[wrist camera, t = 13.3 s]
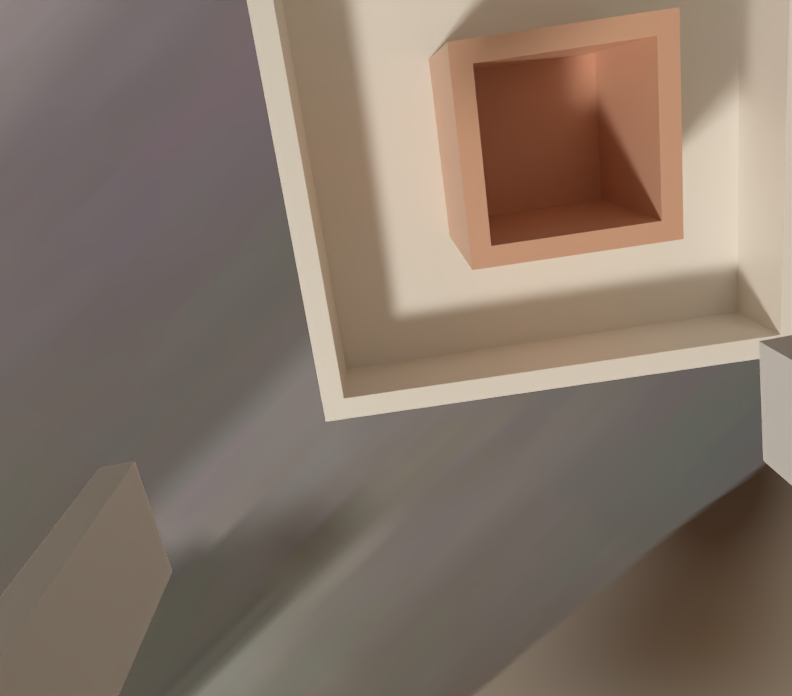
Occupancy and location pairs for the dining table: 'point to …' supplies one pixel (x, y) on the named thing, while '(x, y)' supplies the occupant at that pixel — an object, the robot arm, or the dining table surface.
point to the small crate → (561, 138)
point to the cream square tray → (530, 281)
